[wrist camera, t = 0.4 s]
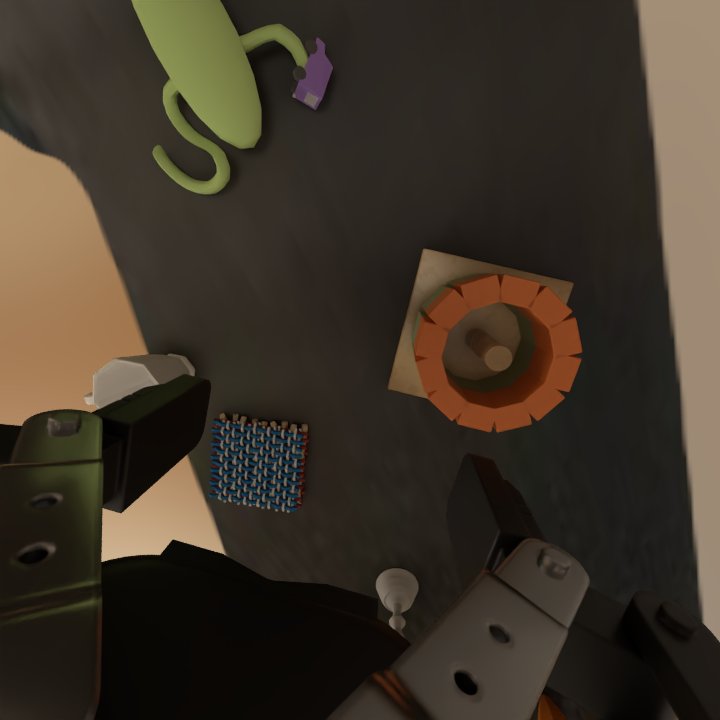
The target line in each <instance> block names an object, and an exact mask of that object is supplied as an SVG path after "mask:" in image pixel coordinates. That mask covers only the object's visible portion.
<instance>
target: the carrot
mask: <svg viewBox="0 0 720 720" xmlns="http://www.w3.org/2000/svg"><path fill="white" fill-rule="evenodd" d="M538 720H567V719H566V718H565V716H564V715H563V714H562V712H561V711H560V710H559V708H558V707H557V706H556V705H555V704H554V703H553V701H552V700H551V699H550V698H549V697H548V696H546V695H544V694H543V695H542V696H541V697H540V701H539V709H538Z"/></svg>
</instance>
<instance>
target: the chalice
mask: <svg viewBox="0 0 720 720" xmlns="http://www.w3.org/2000/svg"><path fill="white" fill-rule="evenodd" d="M376 589H377V592H378V594H379V596H380V598H381V601H382V603H383V605H384V606H385V607H386V608H387V609H388V610H390V611H392V612H393V617H391V618H390V620H389V624H390V626H391V627H392V628H393V629H395V630H396V631H397V632H398V633H399V634H401V635H402V636H403V637H404V635H403V634H402V631H401V630H402V628H403V627H404V626H405V620H404V618H403V617H402V615H401V612H404V611H406V610H408V609H409V608H410V607H411V606H412V603H413V601H414V599H415V596H416V595H417V592H418V582H417V580H416V578H415V577H414V576H413V574H411V573H410V572H408V571H407V570H404V569H400V568H392V569H388V570H386V571H384V572H382V573H381V574H380V576H379V577H378V579H377V581H376ZM404 638H405V637H404Z"/></svg>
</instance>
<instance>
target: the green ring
mask: <svg viewBox="0 0 720 720" xmlns="http://www.w3.org/2000/svg"><path fill="white" fill-rule="evenodd" d="M482 274H490V273H481V274H478V273H474V274H471V275H468V276H464V277H461V278H458V279H455V280H451V281H448V282H447V285H448V287H449V288H452V289H454V286H453V283H456V282H459V281H462V280H466V279H469V278H472V277H476V276H479V275H482ZM446 288H447V287H446V286H443V285H441V286H440V287H439V288H438V289H437V290H436V291H435V292H434V293H433V294H432V295H431V296H430V298H429V299H428V300H427V301H426V302H425V303H424V304H423V305H422V307H423V309H424V310H425V309H426V308H427V307H428V306H429V305H430V304H431V303H432V302H433V301H434V300H435V299H436V298H437V297H438V296H439V295H440V294H441V293H442V292H443V291H444V290H445V289H446ZM503 304H504V305H505V306H506V307H508V308H509V309H510V310H511V311H512V312H513V313H514V314H515V315H516V317H517V322H518V326H519V330H520V335H521V340H520V343H519V346H518V349H517V352H516V355H515V358H514V360H513V361H512V363H511V365H510V366H509V367H508V368H507V369H505V370H503V371H501V372H500V373H499V374H497V375H495V376H491V377H487V378H483V379H479V380H471V379H467V378H463V377H459V376H454V375H453V374H452V373H451V372H450V371H449V370H447V369H446V368H445V367H444V368H445V372H446V374H447V375H448V376H449V377H450V378H451V379H452V380H453V381H454V382H455V383H456V384H457V385H458V386H459V387H461V388H465V389H469V390H473V391H477V392H481V393H487V392H490V391H494V390H498V389H502V388H506V387H509V386H510V385H511V384H513V383H514V382H515V381H516V380H517V379H518V378H519V377H520V376H522V375H523V374H524V373H525V372H526V371H527V370H528V368H529V365H530V362H531V359H532V357H533V354H534V351H535V348H536V343H535V339H534V334H533V330H532V325H531V322H530V321H529V320H528V319H527V318H526V317H525V316H524V315H523V314H522V313H521V312H520V311H519V310H518V309H517V308H516V307H515V306H514V305H510V304H506V303H503ZM421 316H426V317H429V316H428V315H427V313H426V312H423V311H418V315H417V319H416V323H415V326H414V330H413V334H412V341H413V343H412V347H413V352H414V351H415V349H414V341H415V337H416V334H417V330H418V326H419V322H420V319H421Z"/></svg>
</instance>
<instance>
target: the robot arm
mask: <svg viewBox="0 0 720 720" xmlns="http://www.w3.org/2000/svg"><path fill="white" fill-rule="evenodd" d="M210 392H211V383H210V381H209V380H206V379H202V378H199V377H195V376H191V375H188V374H183V375H181V376H179V377H177V378H175V379H173V380H171V381H169V382H167V383H165V384H158V385H153V386H148V387H144V388H142V389H140V390H138V391H136V392H134V393H132V395H130V394H129V395H127V396H125V397H123V398H122V399H121V400H117V401H115V402H113V403H111V404H108V405H106V406H104V407H102V408H100V409H98V410H96V411H94V412H92V413H90V412H87V411H82V410H72V409H63V410H53V411H47V412H42V413H39V414H36V415H34V416H31V417H30V418H28V419H27V420H26V421H25V422H24V423H23V425H22V426H15V425H4V424H0V720H530V718H531V716H532V714H533V711H534V709H535V707H536V705H537V703H538V700H539V698H540V696H541V694H542V691H543V689H544V687H545V685H546V686H548V687H550V688H551V689H553V690H555V691H556V692H558V693H560V694H561V695H563V696H565V697H566V698H568V699H570V700H571V701H573V702H575V703H576V704H578V705H580V708H581V711H582V714H583V717H584V720H720V642H719V641H718V640H717V638H716V637H715V636H714V635H713V633H712V632H711V631H710V630H709V629H708V628H707V627H706V626H705V625H704V624H703V623H702V622H701V621H700V620H699V619H697V618H696V617H695V616H694V615H693V614H691V613H690V612H689V611H687V610H686V609H684V608H683V607H681V606H680V605H678V604H677V603H675V602H673V601H671V600H670V599H668V598H666V597H664V596H661V595H659V594H656V593H653V592H650V591H637V592H636V593H635V594H634V595H633V597H632V599H631V601H630V603H629V605H628V606H626V605H624V604H622V603H620V602H618V601H616V600H614V599H612V598H610V597H608V596H606V595H604V594H602V593H600V592H598V591H596V590H594V589H592V588H590V587H589V577H588V575H587V573H586V571H585V570H584V568H583V567H582V566H581V565H580V564H579V562H578V561H577V560H575V559H574V558H573V557H572V556H571V555H569V554H568V553H567V552H565V551H564V550H562V549H561V548H559V547H557V546H555V545H553V544H551V543H549V542H547V541H546V539H545V537H544V535H543V534H542V532H541V530H540V528H539V526H538V524H537V523H536V521H535V519H534V517H532V513H531V512H530V510H529V508H528V507H527V506H526V503H525V501H524V499H523V497H522V495H521V493H520V492H519V491H518V490H517V489H516V488H515V487H514V486H513V485H512V484H511V483H510V482H509V481H507V480H504V479H503V478H502V476H501V474H500V472H499V470H498V468H497V466H496V464H495V462H494V461H493V460H492V459H488V458H485V457H481V456H478V455H474V454H470V453H467V454H466V455H465V457H464V458H463V461H462V463H461V466H460V469H459V472H458V474H457V477H456V480H455V483H454V486H453V488H452V491H451V494H450V497H449V500H448V504H447V512H446V518H447V524H448V529H449V534H450V539H451V544H452V549H453V554H454V559H455V564H456V569H457V574H458V579H459V584H460V589H461V593H460V594H459V595H458V596H457V597H456V598H455V599H454V601H453V602H452V603H451V604H450V605H449V606H448V607H447V608H446V609H445V610H444V611H443V612H442V613H441V614H440V615H439V616H438V617H437V618H436V619H435V620H434V621H433V622H432V623H431V624H430V626H429V627H428V628H427V629H426V630H425V631H424V632H423V633H422V634H421V635H420V636H419V637H418V638H417V639H416V640H415V641H414V642H413V643H412V644H410V643H409V642H408V641H407V640H406V639H405V638H404V637H403V636H402V635H401V634H399V633H398V632H397V631H396V630H395V629H393V628H392V627H390V626H389V625H387V624H386V623H385V622H383V621H381V620H379V619H378V618H377V610H378V599H376V598H373V597H369V596H366V595H362V594H359V593H356V592H352V591H349V590H345V589H342V588H338V587H335V586H331V585H328V584H316V583H301V582H286V581H274V580H269V579H267V578H265V577H263V576H261V575H259V574H258V573H256V572H254V571H252V570H251V569H249V568H247V567H245V566H243V565H242V564H240V563H238V562H236V561H234V560H233V559H231V558H229V557H227V556H226V555H224V554H221V553H218V552H214V551H211V550H207V549H204V548H200V547H197V546H194V545H190V544H187V543H183V542H180V541H176V540H172V541H171V542H170V544H169V545H168V546H167V547H166V548H165V550H164V551H163V552H162V553H161V555H138V556H128V557H122V558H117V559H112V560H108V561H104V562H101V552H102V549H101V548H102V508H104V509H108V510H112V511H115V512H118V513H122V512H123V511H124V510H125V509H127V508H128V507H129V506H130V505H131V504H132V503H133V502H134V501H135V500H137V499H138V498H139V497H140V496H141V495H142V494H143V493H145V492H146V491H147V490H148V489H149V488H150V487H151V486H152V485H153V484H155V483H156V482H157V481H158V480H159V479H160V478H161V477H162V476H164V475H165V474H166V473H167V472H168V471H169V470H170V469H171V468H172V467H174V466H175V465H176V464H177V463H178V462H179V461H180V460H181V459H183V458H184V457H185V456H186V455H187V454H188V453H189V452H190V451H191V450H193V449H194V448H195V447H196V446H197V444H198V443H199V441H200V439H201V437H202V434H203V431H204V427H205V422H206V416H207V410H208V404H209V398H210Z"/></svg>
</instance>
